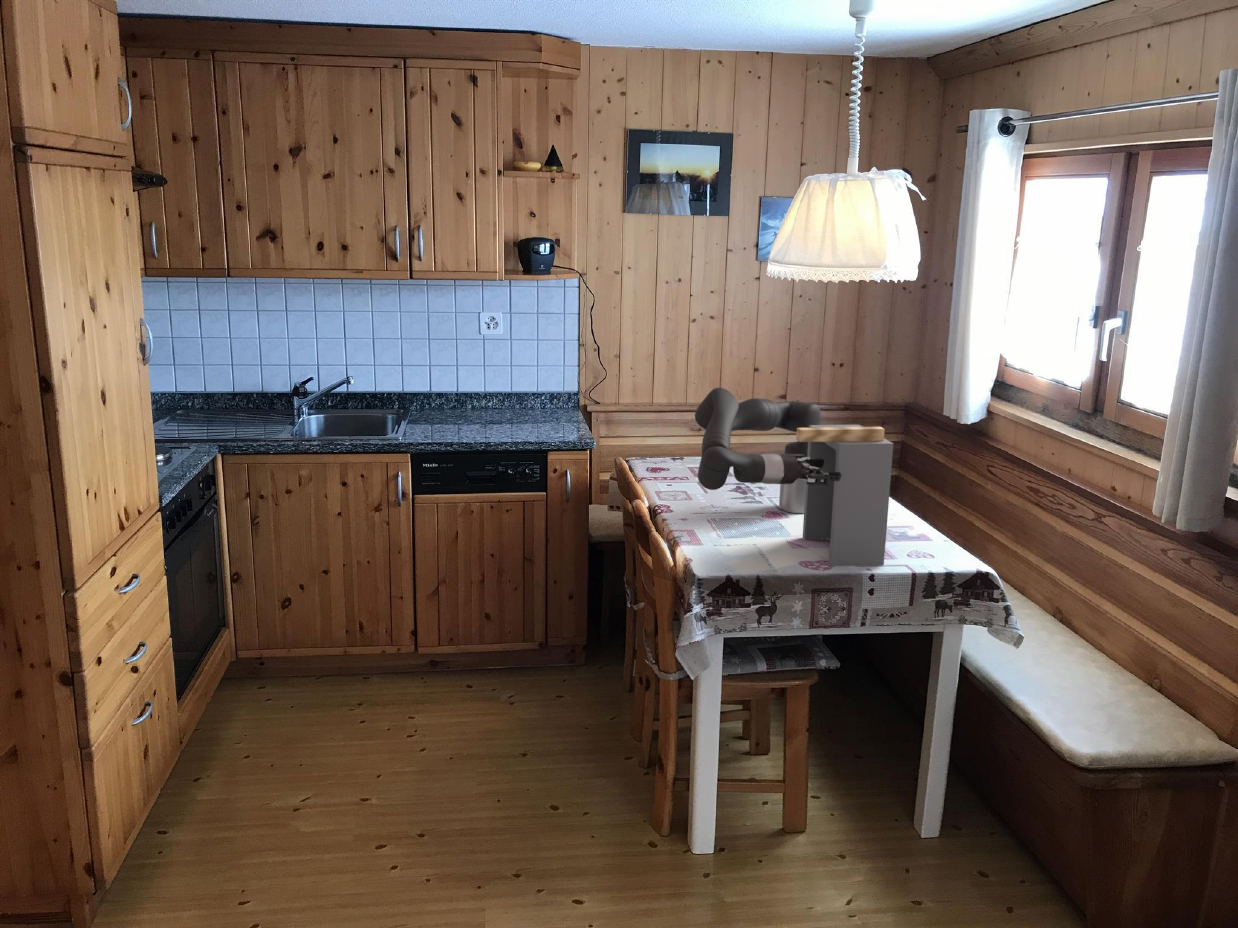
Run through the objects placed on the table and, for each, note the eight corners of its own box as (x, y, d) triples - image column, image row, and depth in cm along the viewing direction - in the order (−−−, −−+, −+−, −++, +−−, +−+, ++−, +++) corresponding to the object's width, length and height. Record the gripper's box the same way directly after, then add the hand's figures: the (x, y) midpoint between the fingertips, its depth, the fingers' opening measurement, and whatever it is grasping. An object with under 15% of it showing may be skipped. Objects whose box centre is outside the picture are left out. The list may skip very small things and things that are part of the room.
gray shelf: (831, 566, 258) (839, 444, 250) (802, 537, 281) (809, 425, 274) (883, 564, 260) (893, 443, 252) (850, 536, 283) (858, 424, 275)
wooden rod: (799, 441, 253) (800, 430, 252) (796, 439, 255) (796, 427, 255) (883, 440, 255) (884, 429, 255) (879, 438, 258) (880, 426, 258)
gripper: (759, 471, 257) (814, 471, 262) (784, 494, 245) (842, 495, 250) (765, 443, 254) (821, 445, 260) (791, 466, 242) (849, 467, 247)
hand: (831, 469), depth 255 cm, fingers open, 8 cm apart
